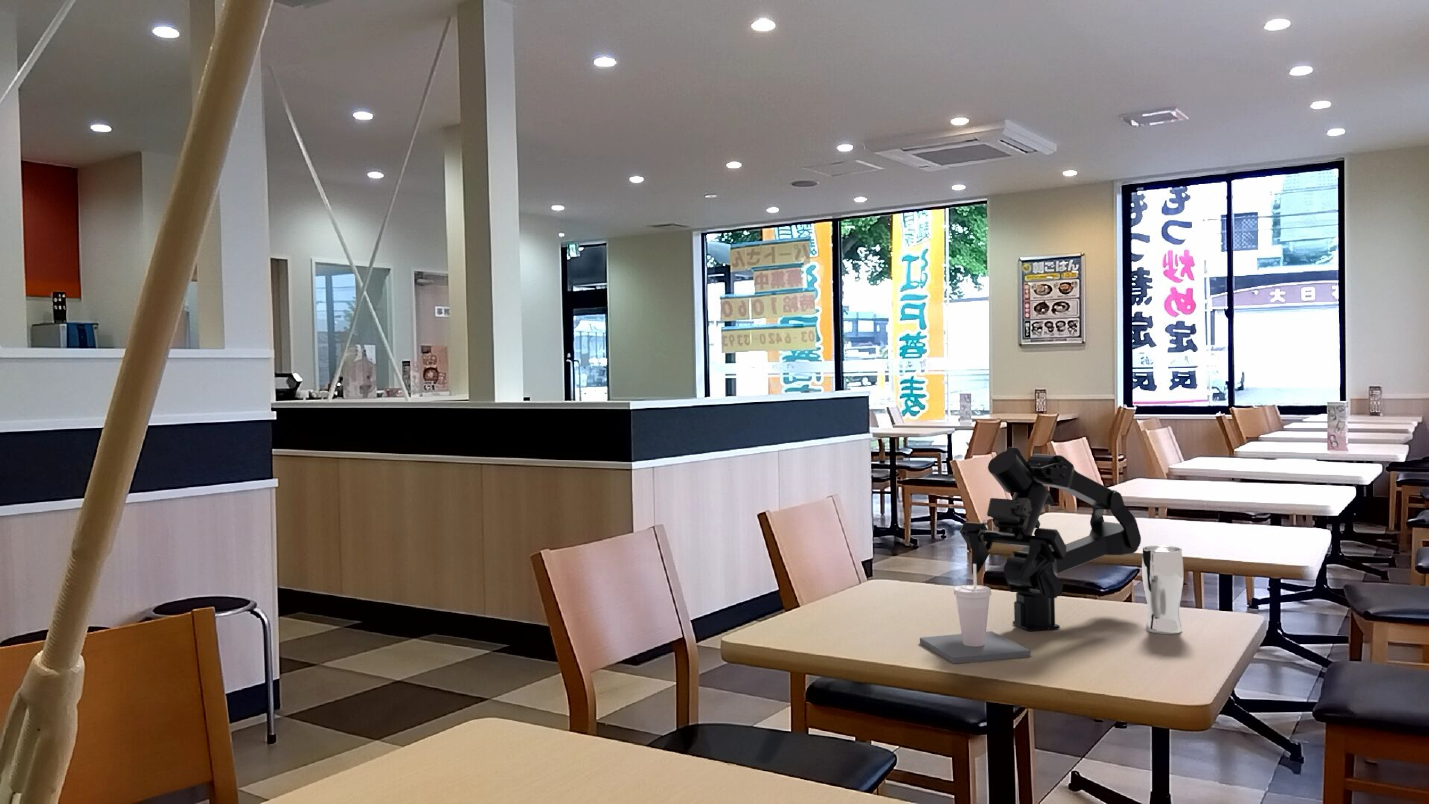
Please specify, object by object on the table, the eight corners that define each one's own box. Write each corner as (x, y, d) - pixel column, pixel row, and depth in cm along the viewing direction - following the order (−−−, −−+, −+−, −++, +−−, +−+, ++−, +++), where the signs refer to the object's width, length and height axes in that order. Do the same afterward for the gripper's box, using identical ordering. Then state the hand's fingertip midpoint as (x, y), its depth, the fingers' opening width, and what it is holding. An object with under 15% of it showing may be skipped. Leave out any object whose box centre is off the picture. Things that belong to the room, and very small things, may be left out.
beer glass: (1134, 628, 193) (1133, 547, 193) (1163, 624, 196) (1161, 544, 196) (1164, 636, 187) (1162, 553, 187) (1193, 631, 190) (1191, 549, 189)
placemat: (991, 636, 191) (991, 631, 191) (1030, 656, 177) (1030, 650, 177) (919, 643, 188) (919, 637, 188) (953, 663, 174) (953, 657, 174)
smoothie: (983, 650, 178) (981, 568, 178) (948, 645, 182) (946, 565, 182) (999, 642, 183) (996, 562, 183) (964, 637, 187) (962, 559, 187)
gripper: (963, 478, 197) (933, 545, 189) (1058, 484, 184) (1029, 555, 176) (985, 515, 203) (956, 581, 195) (1078, 523, 190) (1051, 594, 182)
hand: (996, 577), depth 187 cm, fingers open, 9 cm apart
